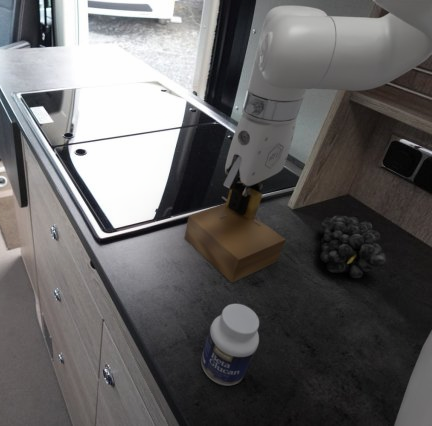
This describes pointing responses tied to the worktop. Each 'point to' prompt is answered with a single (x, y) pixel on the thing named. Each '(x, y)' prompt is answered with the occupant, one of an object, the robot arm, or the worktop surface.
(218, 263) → the brown flat block
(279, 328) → the worktop surface
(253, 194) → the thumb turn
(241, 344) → the pill bottle
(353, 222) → the fruit
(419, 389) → the robot arm
